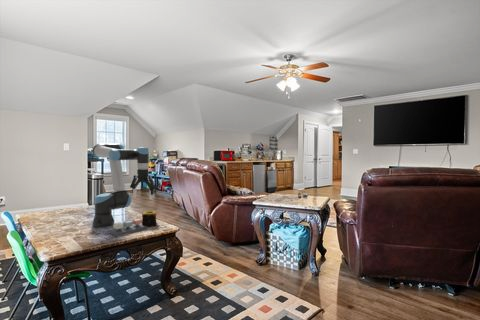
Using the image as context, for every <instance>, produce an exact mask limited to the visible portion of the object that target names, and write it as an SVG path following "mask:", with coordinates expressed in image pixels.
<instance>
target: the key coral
mask: <svg viewBox="0 0 480 320" xmlns="http://www.w3.org/2000/svg"><path fill="white" fill-rule="evenodd" d="M132 222H133V224H135V225H136V227H138V226H139V224H141V225H142V219H141V218H136V219H135V218H134V219H132Z"/></svg>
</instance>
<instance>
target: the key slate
mask: <svg viewBox="0 0 480 320" xmlns="http://www.w3.org/2000/svg"><path fill="white" fill-rule="evenodd" d="M122 223H123V227H124V226H126V227H127V229H129V228H130V226H133V220H126V221H123V222H122Z"/></svg>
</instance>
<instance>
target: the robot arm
mask: <svg viewBox="0 0 480 320" xmlns="http://www.w3.org/2000/svg"><path fill="white" fill-rule="evenodd" d="M91 152H92V154H93V156H95V157H98V158H106V160H107V161H108V162H109V168H110V174H111V181H112V182H111V183H112V189H113V191H112V192H106V193H101V194H98V195H96V196H95V197H94V216H93V220H92V222H91V223H92V225H91V226H92V227H94V228H105V227H111V226H112V225H113V226H114V224H115V219H114V217H113V214H112V213H113V212H112V211H113V210H118V209H119V210H120V209H125V208H128V207H129V206H130V205H131V203H132V199H136V198H137V193H138V192H137V191H138V190H137V187H138V185H140V183H145V185H146V186H147V187H148V188H149V192H148V194H149V195H148V199H149V200H153V199H154V197H153V196H154V190H156V189H157V187H156V185H155V182H154V180H153V176H152V175H150V176H149V160H150V159H149V158H150V157H149V153H150V152H149V147H146V146H144V147H143V146H138V147H137V149H133V148H132V149H125V147H124V146H123V144H121V143H118V142H117V143H116V142H115V143H112V142H109V143H108V142H106V143H105V142H100V143H97V144H95V145H94V146H93V148H92V151H91ZM122 161H136V162H137V166H136V167H137V169H136V170H137V171H136V174H134V175H133V179H132V180H131V181H132V182H131V183H130V186H129V188H130V189H131V190H132V194H131V193H130V192H128V189H126V185H125V180H124V172H123V167H122V165H123V164H122Z"/></svg>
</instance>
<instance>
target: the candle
mask: <svg viewBox="0 0 480 320" xmlns="http://www.w3.org/2000/svg"><path fill="white" fill-rule="evenodd" d="M141 217H142V219H141V220H142V224H141V225H144V226H147V228H151V227H153V228H154V227H156V226H157V210H148V211H147V210H144V211H142V213H141Z"/></svg>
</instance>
